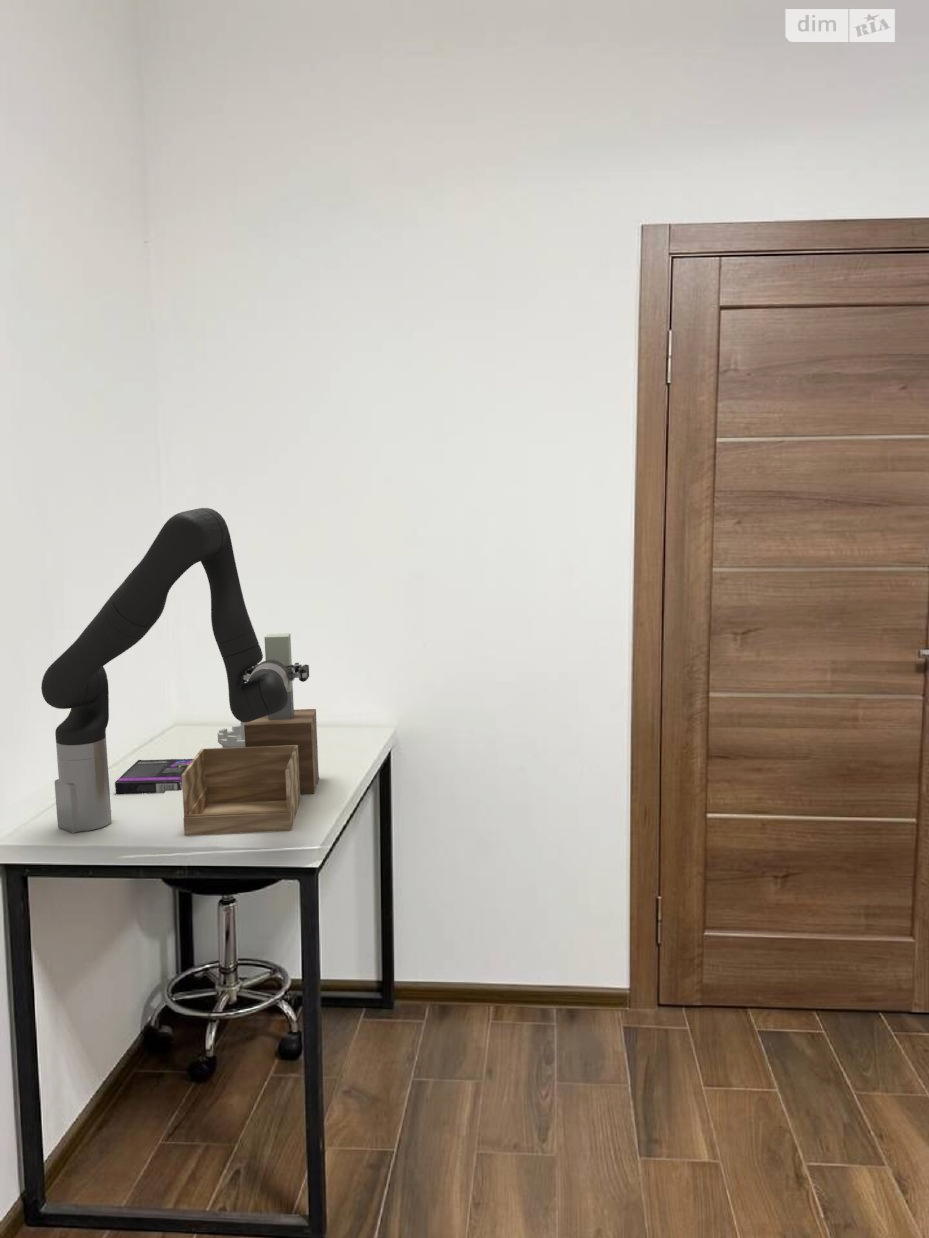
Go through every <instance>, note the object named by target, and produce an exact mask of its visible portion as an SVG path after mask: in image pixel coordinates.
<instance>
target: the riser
mask: <svg viewBox="0 0 929 1238" xmlns="http://www.w3.org/2000/svg"><path fill="white" fill-rule="evenodd" d="M317 725H318V724H317V709H316V708H306V709H305V708H304V709H294V715H293V718H292V719H282V720H268V716H265V717H262V718H259V719H256V720H253V721H250V722H246V723H245V725H244V731H245V747H259V746H284V745H298V755H299V778H300V796H303V795H314V794H315V792H316V788H317V785H318V782H319V779H320V778H319V777H320V776H319V774H320V773H319V753H318V730H317V729H318V728H317V727H318V726H317Z"/></svg>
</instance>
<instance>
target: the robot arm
mask: <svg viewBox="0 0 929 1238" xmlns="http://www.w3.org/2000/svg"><path fill="white" fill-rule="evenodd" d="M199 562H200V563H201V565H202V567H203V569H204V572H205V573H206V578H207V581H208V585H209V590H210V608H211V609H210V620H211V621H210V622H211V629H212V633H213V636H214V639H215V642H216V644H217V647H218V650H219V653H220V655H221V658H222V660H223V665H224V668H225V672H226V679H227V686H228V687H227V688H228V701H229V709H230V711H231V714H232V715H233V717H234V718H235V719H236V720H238V721H239V722H240V723H241V722H244V723H246V722H250V721H253V720H256V719H259V718H262V717H265V716H268V715H270V714H273V713H276V712H279V711H281V710H282V709H284V708H285V707H286V705H287V703H288V694H287V690H286V689H287V687H288V685H289V682H290V681H293V682H294V681H295V679H298V681H300V682H302V683H303V682H307V680H308V679H309V677H310V665H309V664H300V662H295V663H294V664H292V665H291V664H287V665H283V664H282V663H281V662H278V661H276V660H266V659H265V660H264V661H263V658H264V654H263V651H262V648H261V646H260V645H261V644H260V642H259V640H258V638H257V634H256V632H255V629H254V627H253V624H252V621H251V618H250V615H249V613H248V610H247V606H246V603H245V598H244V596H243V595H244V594H243V590H242V587H241V586H242V585H241V582H240V577H239V574H238V569H237V563H236V558H235V554H234V548H233V544H232V538H231V534H230V530H229V526H228V525H227V522H226V520H225V518H224V517H223V516H222V514H221V513H219V512H218V511H217V510H215V509H213V508H209V507H200V508H195V509H189V510H185V511H181V512H178V513H176V514H174V515H172V516H171V517H169V519H167V521H166V522H165V523H164V525H162V527H161V529H160V530H159V532H158V534H157V536H156V537H155V539H154V540H153V541H152V544H151V545H150V547H149V548H148V550H147V552H146V553H145V554H144V556H143V557H142V559H141V560H140V561H139V562H138V564H137V565H136V566H135V567H134V569H132V570H131V572H130V573H129V574H128V575H127V576H126V578H125V579H124V581H123V582H122V583H120V585H119V586H118V587H117V588H116V590H114V592H113V593H112V594H111V596H109V598H108V599H107V601H106V602H105V603H104V605H103V606H102V607H101V608H100V610H99V611H98V613H96V615H95V617H94V618H93V619H92V620H91V621H90V622H89V623H88V624H87V626H86V627H85V628H84V630H83V631H82V633H81V634H79V636H78V637H77V639H76V640H75V641H74V642H73V643H71V645H70V646H69V647H68V648H67V649H66V650H65V651H64V652H63V653H62V654H61V655H59V656H58V657H57V658H56V660H54V661H53V663H51V665H49V667H48V668H47V669H46V670H45V672H44V674H43V676H42V681H41V694H42V697H43V699H44V701H45V702H46V704H48V705H49V706H50V707H52V708H55V709H58V710H68V709H70V711H69V713H68V715H67V717H66V718H65V719H64V720H63V721H62V722H61V723H60V724H59V725H58V726H56V729H55V735H54V736H55V745H56V747H55V748H56V758H57V759H56V761H57V773H58V779H55V780H54V793H55V804H56V806H55V807H56V818H57V827H58V828H60V829H63V830H64V831H68V832H70V833H73V834H75V833H77V832H86V831H93V830H97V829H102V828H104V827H107V826H108V825H109V824H112V809H111V808H112V805H111V793H110V776H109V762H108V748H107V746H108V745H107V734H106V733H107V732H106V731H107V727H108V724H109V720H110V707H109V701H110V699H109V693H110V692H109V680H108V674H107V672H106V670H105V667H104V666H106V665H107V664H109V663H110V662H111V661H113V660H114V659H116V658H117V657H119V656H121V655H122V654H123V653H125V652H126V651H128V650H129V649H131V648H132V647H133V646H135V645H136V644H137V643H139V642H140V641H141V640H142V639H143V638H144V637H145V636H146V635H147V634H148V632H149V631H150V630H151V629H152V628H153V626H154V625H155V624H156V623H157V622H158V620H159V619H160V617H161V616H162V614H163V612H164V609H165V607H166V602H167V598H168V595H169V592H170V590H171V588H172V587H173V586H174V584H175V583H176V582H177V581H178V580H179V579H180V577H182V576H183V575H184V574H185V572H187V570H189V569H190V568H191V567H193V566H194V565H195V564H197V563H199Z"/></svg>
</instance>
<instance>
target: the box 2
mask: <svg viewBox="0 0 929 1238" xmlns="http://www.w3.org/2000/svg"><path fill="white" fill-rule="evenodd" d="M291 637H292V636H291V633H288V632H287V633H267V634H266V635H265V636H264V638H263V639H264V653H265V654H264V657H265V661H266V660H276V661H278V662H281V663H282V664H283V665H287V664H291V665H293V662H292V640H291ZM293 682H294V681H290V682H289V685H288V687H287V689H286V690H287V694H288V703H287V705H286V707H285V708H284V709H282V710H281V711H279V712H276V713H273V714H270V715H268V720H282V719H292V718H293V715H294V710H295V709H294V708H295V707H294V705H295V704H294V688H293V687H294V686H293V684H294V683H293Z"/></svg>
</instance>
